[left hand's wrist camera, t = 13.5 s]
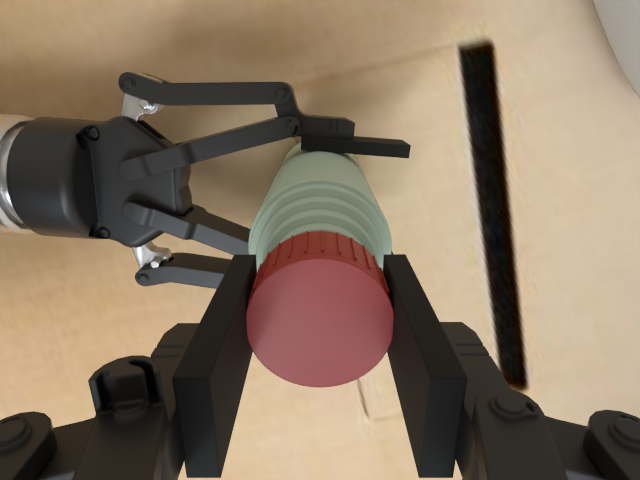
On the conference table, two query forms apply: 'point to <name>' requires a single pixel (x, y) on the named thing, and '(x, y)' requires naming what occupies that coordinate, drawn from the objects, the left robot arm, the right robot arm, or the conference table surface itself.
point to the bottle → (319, 204)
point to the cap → (319, 310)
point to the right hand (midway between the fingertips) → (396, 203)
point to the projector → (623, 35)
